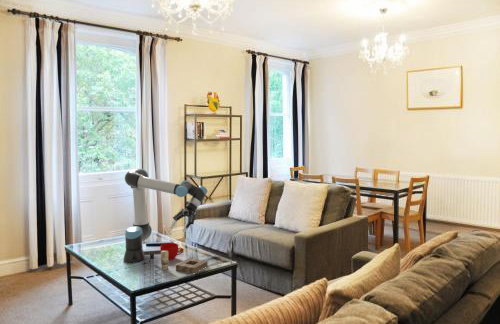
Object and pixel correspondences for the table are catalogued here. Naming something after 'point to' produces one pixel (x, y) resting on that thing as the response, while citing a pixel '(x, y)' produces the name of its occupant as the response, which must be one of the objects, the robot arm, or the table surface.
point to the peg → (164, 260)
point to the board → (191, 265)
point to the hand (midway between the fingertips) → (176, 229)
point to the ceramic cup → (171, 250)
